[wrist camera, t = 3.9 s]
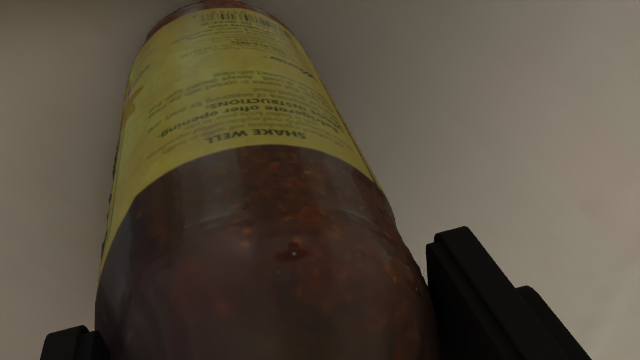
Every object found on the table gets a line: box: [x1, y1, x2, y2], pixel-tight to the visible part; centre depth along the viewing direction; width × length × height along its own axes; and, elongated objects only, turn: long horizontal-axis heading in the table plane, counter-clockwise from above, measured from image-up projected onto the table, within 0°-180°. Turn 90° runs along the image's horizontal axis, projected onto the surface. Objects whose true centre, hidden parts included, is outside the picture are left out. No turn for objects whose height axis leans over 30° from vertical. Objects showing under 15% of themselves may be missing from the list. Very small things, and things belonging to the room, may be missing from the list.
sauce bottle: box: [95, 0, 439, 360], centre depth 13 cm, size 6×6×20 cm
